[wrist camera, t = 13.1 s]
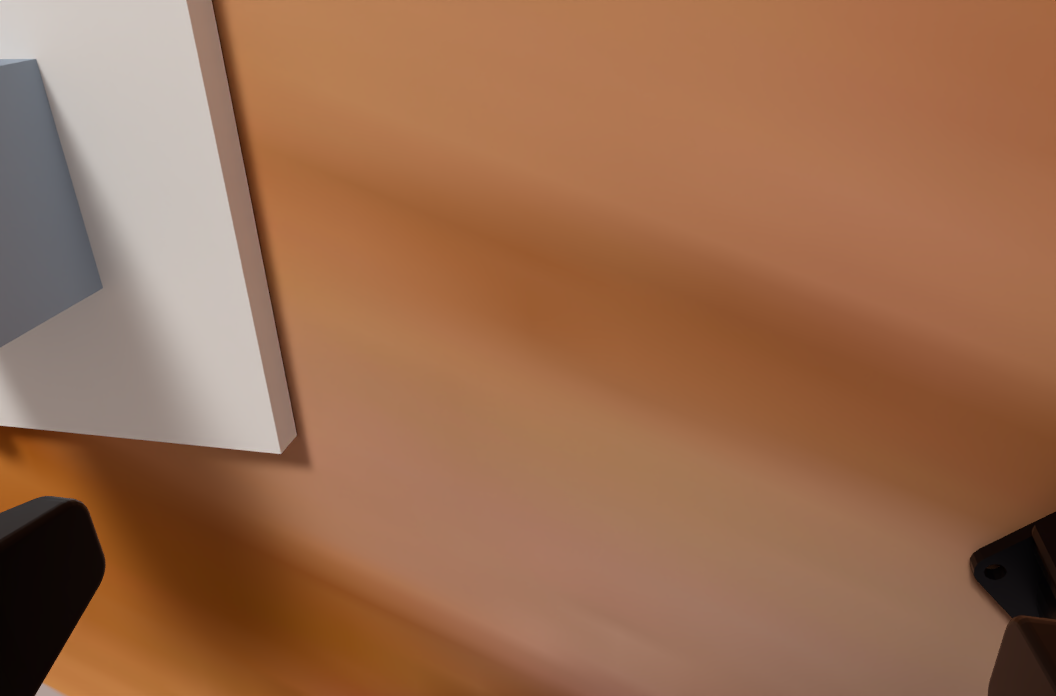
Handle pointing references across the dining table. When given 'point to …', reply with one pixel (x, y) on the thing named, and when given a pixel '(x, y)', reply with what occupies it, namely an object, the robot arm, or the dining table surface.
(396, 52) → the dining table surface
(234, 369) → the white rectangular slab
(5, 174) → the tea box
